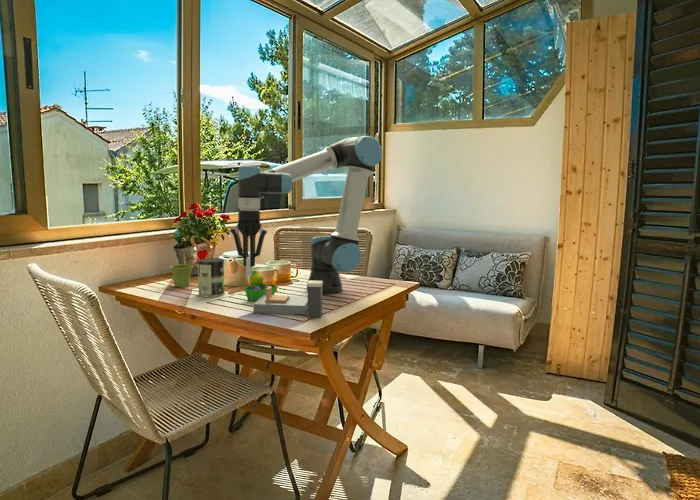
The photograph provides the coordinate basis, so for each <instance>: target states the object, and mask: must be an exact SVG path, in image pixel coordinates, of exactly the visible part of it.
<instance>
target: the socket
mask: <svg viewBox="0 0 700 500" xmlns="http://www.w3.org/2000/svg"><path fill="white" fill-rule="evenodd" d="M288 296H289V299H288V300H287V301H286V302H265V299H266V295H263V296H262V297H261V298H260V299H259V300H257V301H256V302H254V303H253V313H254V314H255V313H258V314H259V313H260V314H261V313H263V314H283V315H284V314H289V315H291V314H292V315H305V314H307V312H308V296H306V295H305V296H302V295H301V296H300V295H288Z"/></svg>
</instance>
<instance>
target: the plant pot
mask: <svg viewBox="0 0 700 500" xmlns="http://www.w3.org/2000/svg"><path fill="white" fill-rule="evenodd" d="M169 267H170V270H171V273H172V278H173V284H174V287H175V288H178V287H179V288H186V287H189V286H190V283H191V275H192V270H193V268H194V266H193V265H192V264H175V265H170V266H169Z"/></svg>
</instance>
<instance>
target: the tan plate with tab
mask: <svg viewBox="0 0 700 500" xmlns="http://www.w3.org/2000/svg"><path fill="white" fill-rule="evenodd" d="M289 296H290V295H278V294H276V295H275V294H274V295H272V286H269V287H268V288H267V289H266V299H265V302H286V301H287V300H288V299H289Z"/></svg>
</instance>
